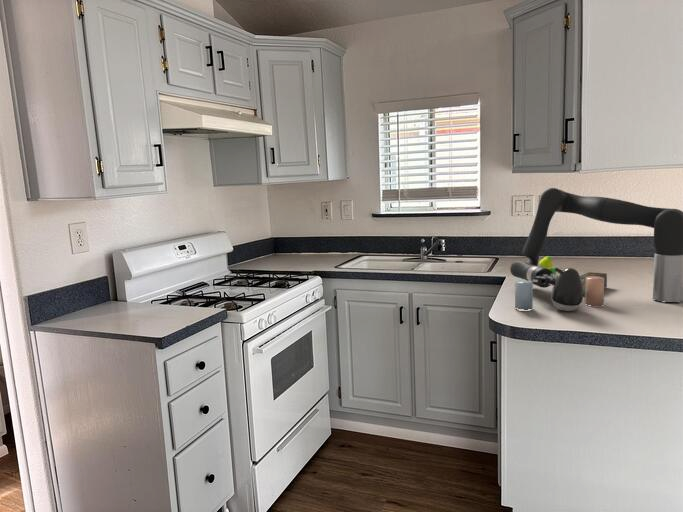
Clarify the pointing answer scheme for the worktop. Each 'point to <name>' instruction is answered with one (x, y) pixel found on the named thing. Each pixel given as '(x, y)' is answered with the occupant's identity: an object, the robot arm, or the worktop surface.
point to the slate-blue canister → (524, 294)
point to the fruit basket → (547, 264)
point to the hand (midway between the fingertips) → (560, 283)
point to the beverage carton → (583, 277)
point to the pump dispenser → (567, 290)
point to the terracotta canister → (594, 291)
